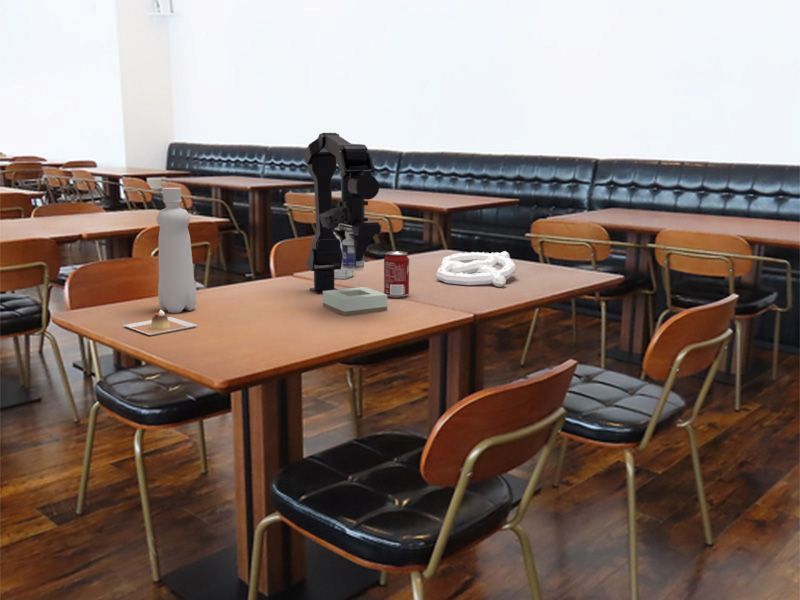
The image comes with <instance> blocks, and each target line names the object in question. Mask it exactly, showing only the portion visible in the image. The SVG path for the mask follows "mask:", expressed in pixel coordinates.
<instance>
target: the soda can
mask: <svg viewBox="0 0 800 600" xmlns="http://www.w3.org/2000/svg"><path fill="white" fill-rule="evenodd" d="M383 260H384V261H383V293H384V294H387V298H391V299H403V298H405V297H406V296H409V294H410V258H409V257H408V252H406V251H401V250H400V251H399V250H397V251H396V250H395V251H393V250H392V251H387V252H386V253H385V257H384V258H383Z"/></svg>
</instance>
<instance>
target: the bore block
mask: <svg viewBox="0 0 800 600" xmlns="http://www.w3.org/2000/svg"><path fill="white" fill-rule="evenodd" d="M337 289H338V288H337ZM322 307H323V308H325V307H326V309H328V310H330V311H333V312H335V313H337V314H339V315H342V316H344V317H346V316H352V315H353V316H354V315H360V314H361V315H362V314H369V313H378V312H386V311H385V310H387V311H388V297H387V294H384V292H380V291H377V290H374V289H372V288H369V287H367V286H360V287H350V288H342V289H341V288H340V289H338V290H329V291H323V293H322Z"/></svg>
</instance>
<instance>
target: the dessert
mask: <svg viewBox="0 0 800 600" xmlns="http://www.w3.org/2000/svg"><path fill="white" fill-rule="evenodd" d="M151 317H152V318H151V319H150V320H145V321H138V322H133V323H127V324H122V326H123V327H125V328H127V329H130V330H132V331H136V332H139V333H142V334H145V335H148V336H155V335H156V336H157V335H163V334H167V333H173V332H177V331H183V330H187V329H194V328H195V327H197V326H198V324H196V323H191V322H190V321H186V320H183V319H179V318H176V317H173V316H168V315H167V314H165V311H163V310H162V309H159V311H158V310H156V312H155V313H153V315H152V316H151ZM170 322H172V323H176V324H178V325H181V326H184V327H178V328H174V329H171V328H172V327H171V324H170ZM146 325H150V327H149V329H150V330H153V331H155V330H156V331H157V332H153V333H148V332H146V331H143V330H140V329H138V328H134V327H141V326H146ZM161 330H162V331H161Z"/></svg>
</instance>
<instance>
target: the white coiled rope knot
mask: <svg viewBox="0 0 800 600" xmlns="http://www.w3.org/2000/svg"><path fill="white" fill-rule="evenodd" d="M496 266H497V267H502V268H501V269H500V268H499V269H498V268H497V267H496ZM517 269H518V268H517V265H516V264H515V263H514V261H513V259H511V256H510V253H509V252H507V251H506V250H504V251H502V252H497V251H496V252H494V251H493V252H491V253H489V252H485V251H482V252H479V251H476V252H475V251H471V252H467V251H465V252H464V253H463V252H458V253H453V254H451V255H447V256H444V257H443V258H442V261H441V265H440V266H439V267H438V269H437V271H436V273H435V275H436V279H437V280H439V281H441V282H444V283H446V284H449V285H458V286H459V285H461V286H477V285H478V286H479V285H480V286H481V285H490V284H493V285H494V286H495V287H498V288H502V287H504V286H505V285H506V282H507V280H508V279H510V277H512V276H513V274H516V271H517Z"/></svg>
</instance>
